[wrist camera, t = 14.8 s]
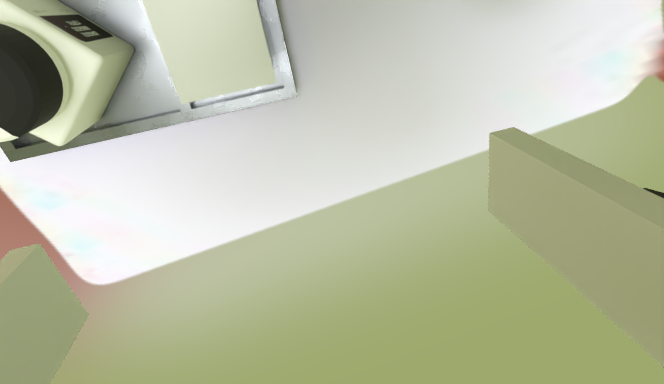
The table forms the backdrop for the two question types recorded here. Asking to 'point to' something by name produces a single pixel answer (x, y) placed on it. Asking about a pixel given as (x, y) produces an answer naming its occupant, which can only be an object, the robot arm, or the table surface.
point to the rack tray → (157, 80)
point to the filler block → (211, 46)
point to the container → (55, 70)
